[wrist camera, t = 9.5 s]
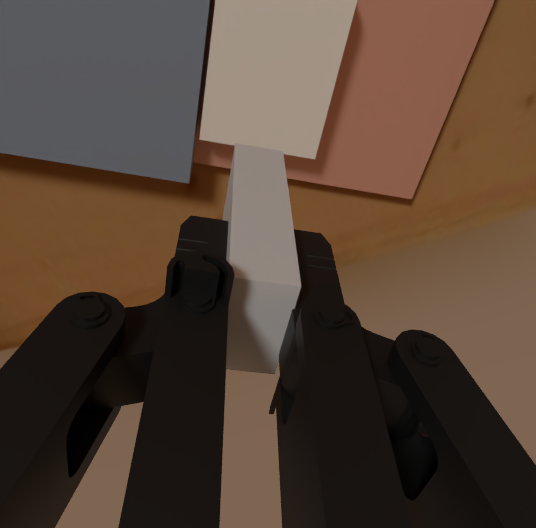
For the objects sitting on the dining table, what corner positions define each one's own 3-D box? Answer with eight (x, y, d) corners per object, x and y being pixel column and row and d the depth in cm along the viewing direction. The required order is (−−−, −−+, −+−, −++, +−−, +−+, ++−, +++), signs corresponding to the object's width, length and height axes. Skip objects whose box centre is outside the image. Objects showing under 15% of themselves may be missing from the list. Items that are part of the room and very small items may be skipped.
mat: (194, 155, 33) (193, 162, 32) (224, -102, 25) (223, -101, 24) (408, 192, 35) (411, 199, 34) (500, -35, 27) (508, -33, 26)
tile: (202, 126, 31) (199, 139, 29) (221, -41, 26) (219, -36, 24) (311, 146, 32) (314, 159, 30) (352, -12, 26) (358, -6, 25)
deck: (-62, 119, 31) (-89, 138, 29) (-126, -200, 22) (-172, -210, 20) (193, 162, 33) (189, 183, 31) (225, -114, 25) (222, -115, 22)
